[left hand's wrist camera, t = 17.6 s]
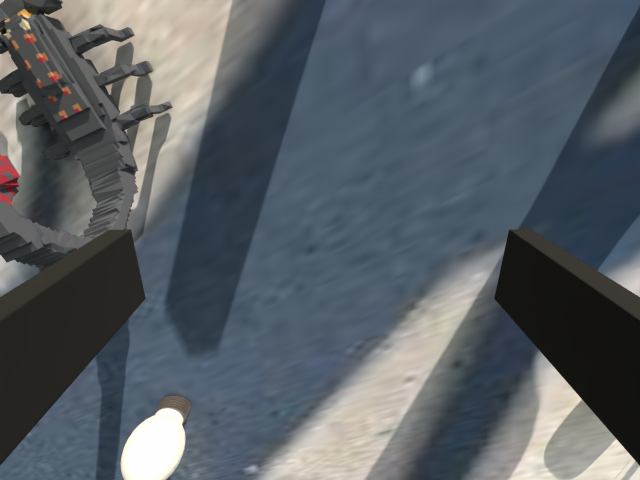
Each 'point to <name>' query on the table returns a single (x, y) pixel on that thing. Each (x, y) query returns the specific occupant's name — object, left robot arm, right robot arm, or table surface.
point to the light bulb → (157, 442)
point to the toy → (67, 124)
